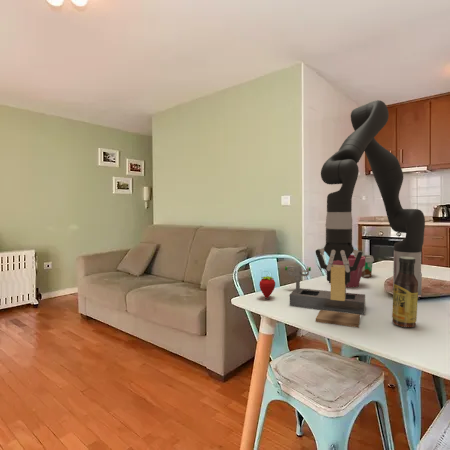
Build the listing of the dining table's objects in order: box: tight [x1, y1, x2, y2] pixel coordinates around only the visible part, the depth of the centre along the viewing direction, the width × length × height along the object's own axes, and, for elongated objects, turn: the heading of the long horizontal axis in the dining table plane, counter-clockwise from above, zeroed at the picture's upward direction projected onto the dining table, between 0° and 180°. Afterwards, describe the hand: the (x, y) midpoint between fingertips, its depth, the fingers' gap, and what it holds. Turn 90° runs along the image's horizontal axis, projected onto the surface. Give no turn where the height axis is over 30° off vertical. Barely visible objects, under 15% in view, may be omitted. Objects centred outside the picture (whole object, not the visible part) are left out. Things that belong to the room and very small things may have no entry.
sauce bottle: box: [391, 257, 419, 328], centre depth 94 cm, size 7×6×20 cm
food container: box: [361, 254, 375, 279], centre depth 160 cm, size 12×6×10 cm, turn 179°
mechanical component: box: [284, 265, 312, 289], centre depth 134 cm, size 3×10×10 cm, turn 78°
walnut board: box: [315, 309, 361, 328], centre depth 100 cm, size 12×9×1 cm
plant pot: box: [333, 254, 365, 289], centre depth 142 cm, size 14×14×13 cm
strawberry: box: [258, 273, 276, 299], centre depth 123 cm, size 6×8×10 cm
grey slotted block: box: [289, 287, 366, 315], centre depth 113 cm, size 24×10×4 cm, turn 65°
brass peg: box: [330, 265, 347, 301], centre depth 99 cm, size 4×4×10 cm
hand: (338, 283), depth 99 cm, fingers closed on brass peg, 4 cm apart
